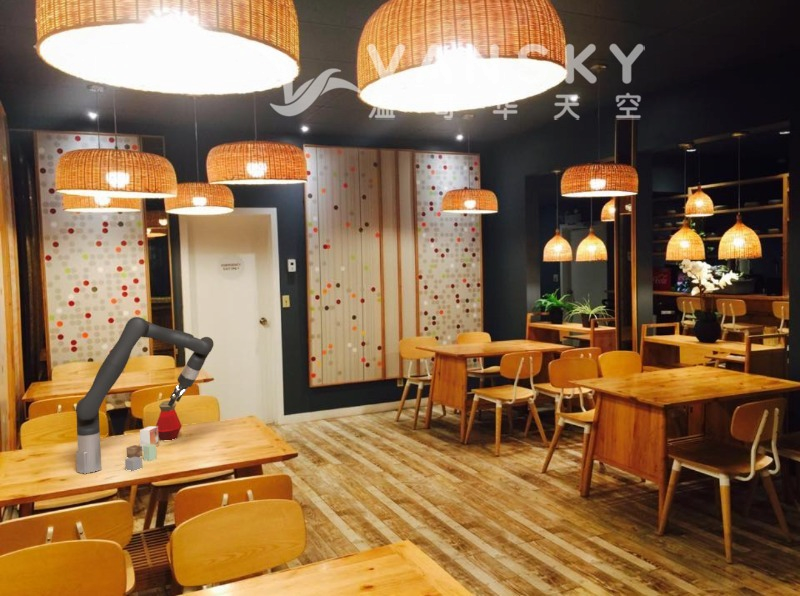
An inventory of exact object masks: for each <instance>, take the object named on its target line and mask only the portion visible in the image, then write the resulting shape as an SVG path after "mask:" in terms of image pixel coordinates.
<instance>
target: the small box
mask: <svg viewBox="0 0 800 596" xmlns="http://www.w3.org/2000/svg"><path fill="white" fill-rule="evenodd" d="M159 439H160V438H159V435H158V427H157V426H156V425H155V426H152V425H151V426H150V425H148V426H146V427H144V428H142V429H139V442H140V444H139V446H142V451H143V446H145V445H148V444H153V445H156V447H157V448H159V447H160V441H159ZM158 446H159V447H158Z"/></svg>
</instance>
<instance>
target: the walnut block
mask: <svg viewBox="0 0 800 596" xmlns="http://www.w3.org/2000/svg"><path fill="white" fill-rule="evenodd" d="M140 456H142V457H144V454H143V450H142V446H140V445H137V444H133V445H131V446H127V447H126V458H127V457H128V458H127V459H129V458H132V457H139V458H141V457H140Z"/></svg>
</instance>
